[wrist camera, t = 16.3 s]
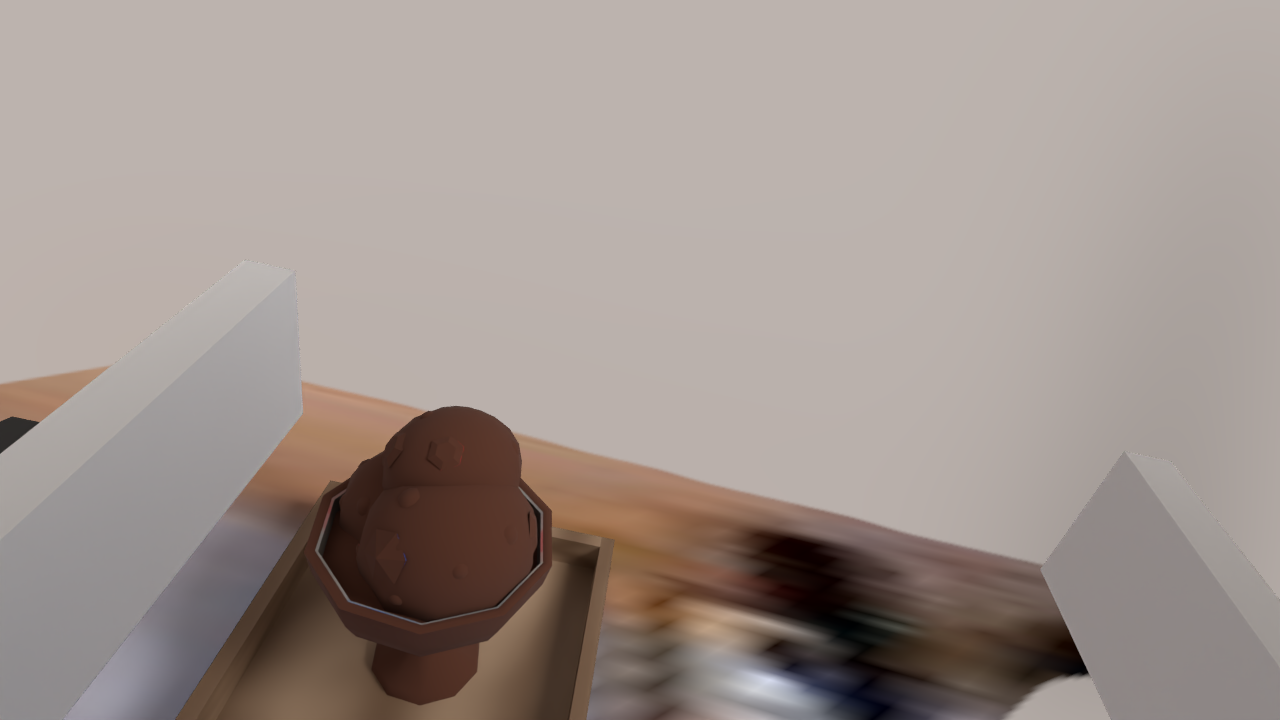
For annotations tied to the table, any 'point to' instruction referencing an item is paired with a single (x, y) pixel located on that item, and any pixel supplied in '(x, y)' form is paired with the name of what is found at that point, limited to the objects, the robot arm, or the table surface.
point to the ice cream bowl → (432, 549)
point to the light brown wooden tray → (341, 662)
